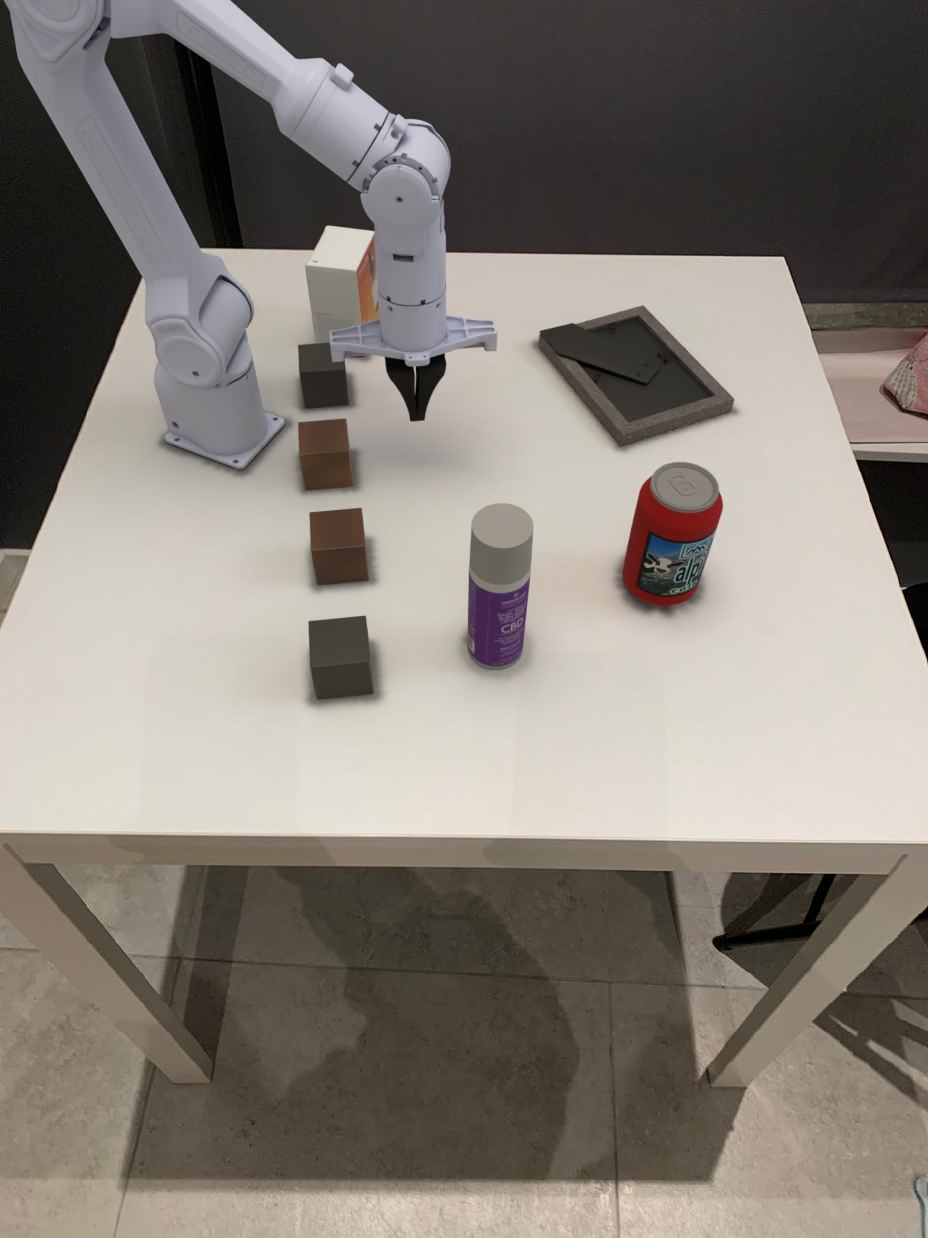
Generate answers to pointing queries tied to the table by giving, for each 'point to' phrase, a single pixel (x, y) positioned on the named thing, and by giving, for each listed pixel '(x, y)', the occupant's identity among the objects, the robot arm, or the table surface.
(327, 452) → the walnut block
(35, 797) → the table surface
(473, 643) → the container
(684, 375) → the picture frame
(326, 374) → the charcoal end block
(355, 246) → the small box
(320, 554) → the walnut block
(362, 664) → the charcoal front block
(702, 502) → the beverage can
